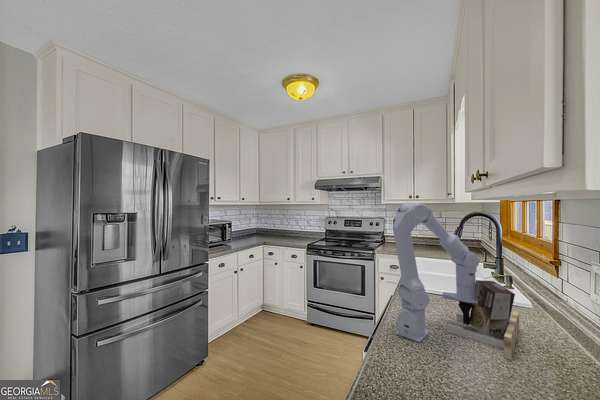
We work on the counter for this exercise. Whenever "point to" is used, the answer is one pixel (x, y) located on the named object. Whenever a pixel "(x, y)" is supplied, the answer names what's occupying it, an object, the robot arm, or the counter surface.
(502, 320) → the coffee box
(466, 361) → the counter surface
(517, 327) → the back plate
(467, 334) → the rails
